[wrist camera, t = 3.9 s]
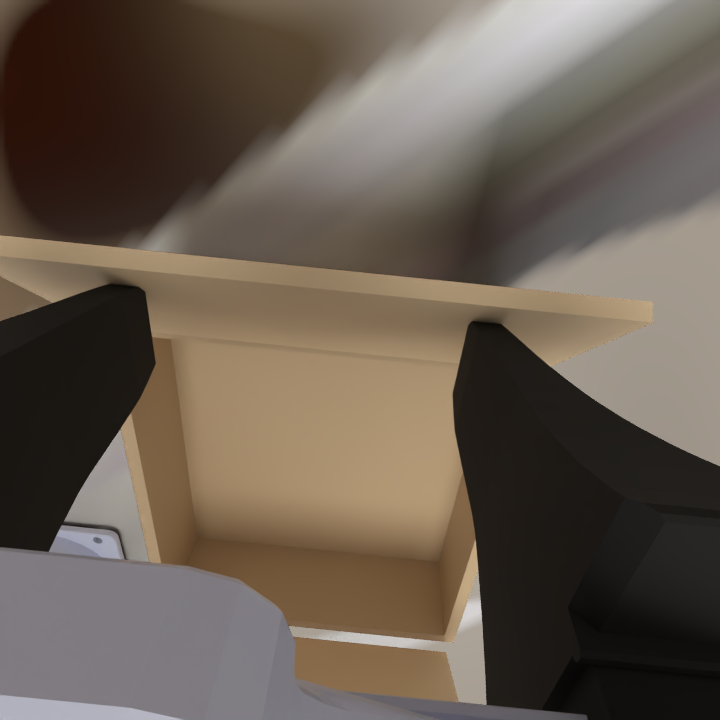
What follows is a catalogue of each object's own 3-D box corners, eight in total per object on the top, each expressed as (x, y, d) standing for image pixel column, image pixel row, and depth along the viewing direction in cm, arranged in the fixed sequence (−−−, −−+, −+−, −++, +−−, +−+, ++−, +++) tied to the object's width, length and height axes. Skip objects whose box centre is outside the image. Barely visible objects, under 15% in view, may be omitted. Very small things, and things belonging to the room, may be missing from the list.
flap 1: (-51, 250, 10) (-46, 231, 10) (101, 327, 16) (103, 314, 16) (653, 323, 10) (653, 301, 10) (538, 371, 16) (539, 358, 16)
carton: (191, 534, 29) (160, 612, 25) (152, 261, 20) (96, 317, 16) (445, 560, 29) (453, 642, 25) (519, 298, 20) (547, 363, 16)
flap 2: (165, 623, 24) (164, 631, 24) (100, 718, 18) (100, 729, 18) (445, 652, 24) (444, 660, 24) (472, 756, 18) (471, 767, 18)
